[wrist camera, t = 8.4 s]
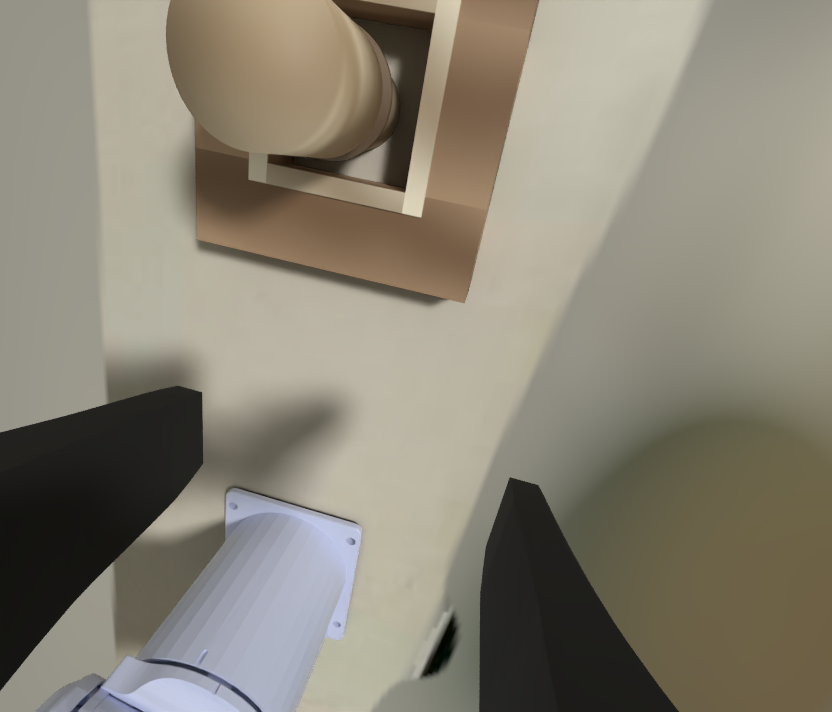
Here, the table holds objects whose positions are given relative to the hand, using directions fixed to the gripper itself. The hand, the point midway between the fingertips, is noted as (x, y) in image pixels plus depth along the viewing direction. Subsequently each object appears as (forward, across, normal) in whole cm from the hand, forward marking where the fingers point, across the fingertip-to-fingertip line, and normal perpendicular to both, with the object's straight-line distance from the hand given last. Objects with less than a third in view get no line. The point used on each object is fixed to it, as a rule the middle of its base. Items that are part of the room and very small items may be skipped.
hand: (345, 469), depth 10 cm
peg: (+10, +4, -8) cm, 14 cm away
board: (+10, +4, -8) cm, 14 cm away
